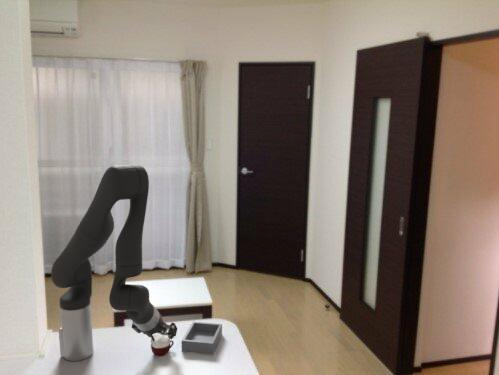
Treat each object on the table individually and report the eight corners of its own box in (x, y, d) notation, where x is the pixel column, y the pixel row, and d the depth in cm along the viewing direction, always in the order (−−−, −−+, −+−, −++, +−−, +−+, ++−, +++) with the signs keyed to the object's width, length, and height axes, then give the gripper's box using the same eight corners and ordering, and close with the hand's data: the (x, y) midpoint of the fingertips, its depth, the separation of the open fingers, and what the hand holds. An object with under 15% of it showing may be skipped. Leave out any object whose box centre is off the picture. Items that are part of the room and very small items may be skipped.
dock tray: (181, 351, 156) (181, 340, 155) (193, 332, 169) (192, 321, 168) (212, 354, 154) (212, 343, 154) (222, 334, 168) (222, 324, 167)
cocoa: (173, 348, 159) (173, 314, 157) (174, 357, 153) (175, 322, 151) (144, 350, 157) (144, 315, 155) (144, 359, 151) (144, 324, 149)
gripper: (172, 307, 143) (184, 325, 156) (127, 304, 145) (143, 322, 159) (167, 332, 139) (180, 348, 152) (120, 328, 141) (137, 344, 155)
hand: (161, 335), depth 155 cm, fingers open, 6 cm apart
